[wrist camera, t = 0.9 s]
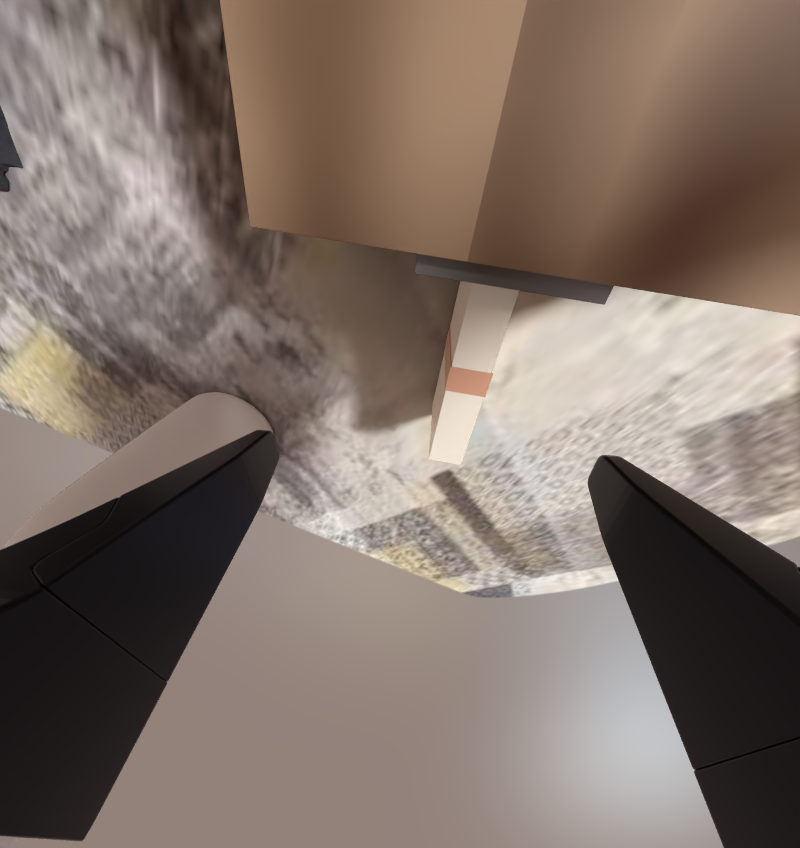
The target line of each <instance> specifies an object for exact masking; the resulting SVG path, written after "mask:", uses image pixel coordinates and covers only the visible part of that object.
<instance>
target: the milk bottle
mask: <svg viewBox="0 0 800 848" xmlns="http://www.w3.org/2000/svg"><path fill="white" fill-rule="evenodd" d="M256 430H269V431H271V432H272V433H273V430H272V428H271V426H270V424H269V423H268V421H267V420H266V418H265V417H264V416H263V415H262V414H261V413H260V411H258V410H257V409H256V408H255V407H254V406H252V405H251V404H249V403H248V402H246V401H245V400H243V399H241V398H238V397H236V396H234V395H230V394H227V393H220V392H209V393H203V394H199V395H197V396H195V397H193V398H191V399H190V400H188V401H187V402H185V403H184V404H182V405H181V406H180V407H178V408H177V409H175V410H174V411H172V412H171V413H170V414H168V415H167V416H165V417H164V418H163V419H161V420H160V421H158V422H157V423H156V424H154V425H153V426H151V427H150V428H149V429H147V430H146V431H144V432H143V433H142V434H140V435H139V436H137V437H136V438H135V439H133V440H132V441H130V442H129V443H128V444H126V445H125V446H123V447H122V448H121V449H119V450H118V451H116V452H115V453H114V454H112V455H111V456H110V457H108V458H107V459H105V460H104V461H103V462H101V463H100V464H99V465H97V466H96V467H95V468H93V469H92V470H90V471H89V472H88V473H86V474H85V475H83V476H82V477H81V478H79V479H78V480H77V481H75V482H74V483H73V484H71V485H70V486H69V487H68V488H66V489H65V490H64V491H62V492H61V493H60V494H59V495H57V496H56V497H55V498H53V499H52V500H51V501H49V502H48V503H47V504H45V505H44V506H43V507H42V508H41V509H40V510H38V511H37V512H36V513H35V514H34V515H33V516H32V517H31V518H29V519H28V520H27V521H26V522H25V523H24V524H23V525H22V526H21V527H20V528H19V530H18V531H17V532H16V533H15V534H14V535H13V536H12V537H11V538H10V540H9V541H8V542H7V544H6V545H5V546H4V547H3V548H2V549H4V548H6V547H8V546H11V545H13V544H15V543H18V542H20V541H22V540H25V539H27V538H29V537H31V536H34V535H36V534H38V533H41V532H43V531H45V530H47V529H50V528H52V527H54V526H56V525H59V524H61V523H63V522H66V521H68V520H70V519H72V518H74V517H76V516H79V515H81V514H83V513H85V512H87V511H89V510H91V509H94V508H96V507H98V506H100V505H102V504H104V503H106V502H108V501H110V500H112V499H114V498H117V497H118V498H119V497H120V496H121V495H123V494H125V493H127V492H129V491H131V490H133V489H135V488H137V487H139V486H141V485H144V484H146V483H148V482H150V481H152V480H154V479H156V478H158V477H160V476H162V475H164V474H166V473H168V472H171V471H173V470H175V469H177V468H179V467H181V466H183V465H185V464H187V463H189V462H191V461H193V460H195V459H197V458H200V457H202V456H204V455H206V454H208V453H210V452H212V451H214V450H216V449H218V448H220V447H222V446H224V445H226V444H229V443H231V442H233V441H235V440H237V439H239V438H241V437H243V436H245V435H247V434H249V433H251V432H253V431H256ZM273 434H274V433H273Z"/></svg>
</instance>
